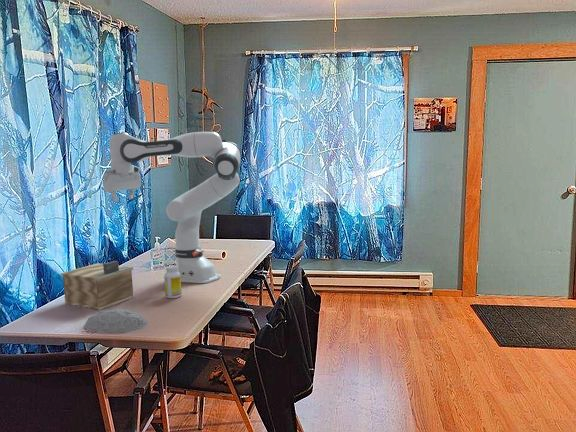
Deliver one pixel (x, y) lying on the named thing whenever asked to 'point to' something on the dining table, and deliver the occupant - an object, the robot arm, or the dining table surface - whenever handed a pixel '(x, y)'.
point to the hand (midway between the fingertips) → (123, 200)
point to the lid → (98, 271)
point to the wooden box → (98, 290)
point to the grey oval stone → (115, 321)
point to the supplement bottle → (172, 282)
